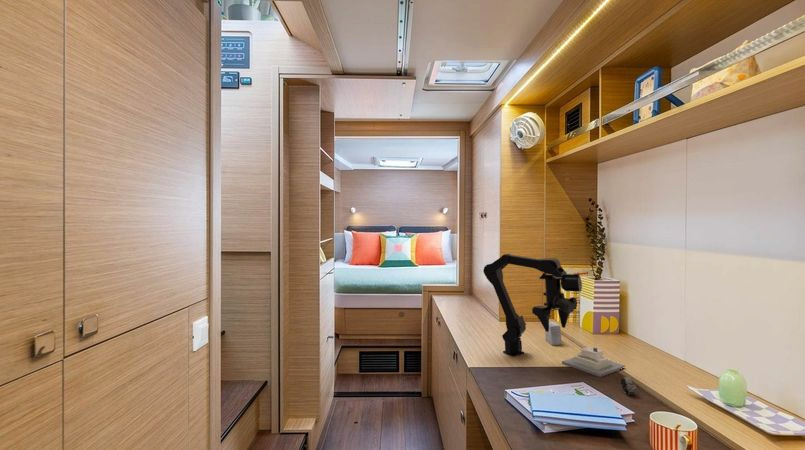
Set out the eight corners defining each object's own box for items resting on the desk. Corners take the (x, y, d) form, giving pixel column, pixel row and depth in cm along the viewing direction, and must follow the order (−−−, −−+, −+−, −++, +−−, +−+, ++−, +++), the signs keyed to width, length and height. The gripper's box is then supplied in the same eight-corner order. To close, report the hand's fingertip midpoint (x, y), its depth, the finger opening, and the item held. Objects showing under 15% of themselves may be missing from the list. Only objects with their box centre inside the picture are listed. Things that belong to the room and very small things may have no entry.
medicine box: (561, 345, 169) (560, 325, 169) (551, 345, 169) (550, 326, 170) (555, 339, 177) (554, 321, 177) (545, 340, 177) (544, 321, 177)
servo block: (601, 368, 138) (600, 351, 138) (577, 360, 147) (576, 345, 147) (608, 366, 140) (607, 349, 140) (584, 358, 149) (583, 343, 149)
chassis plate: (600, 377, 133) (599, 368, 133) (562, 363, 147) (561, 355, 147) (625, 368, 139) (624, 360, 140) (586, 356, 154) (586, 348, 154)
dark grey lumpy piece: (623, 398, 120) (630, 390, 117) (618, 382, 124) (624, 374, 120) (633, 398, 120) (640, 391, 116) (627, 382, 124) (634, 375, 120)
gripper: (552, 296, 141) (555, 338, 141) (586, 289, 149) (589, 329, 149) (530, 292, 151) (532, 332, 150) (563, 286, 159) (565, 324, 159)
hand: (555, 329), depth 152 cm, fingers open, 9 cm apart
